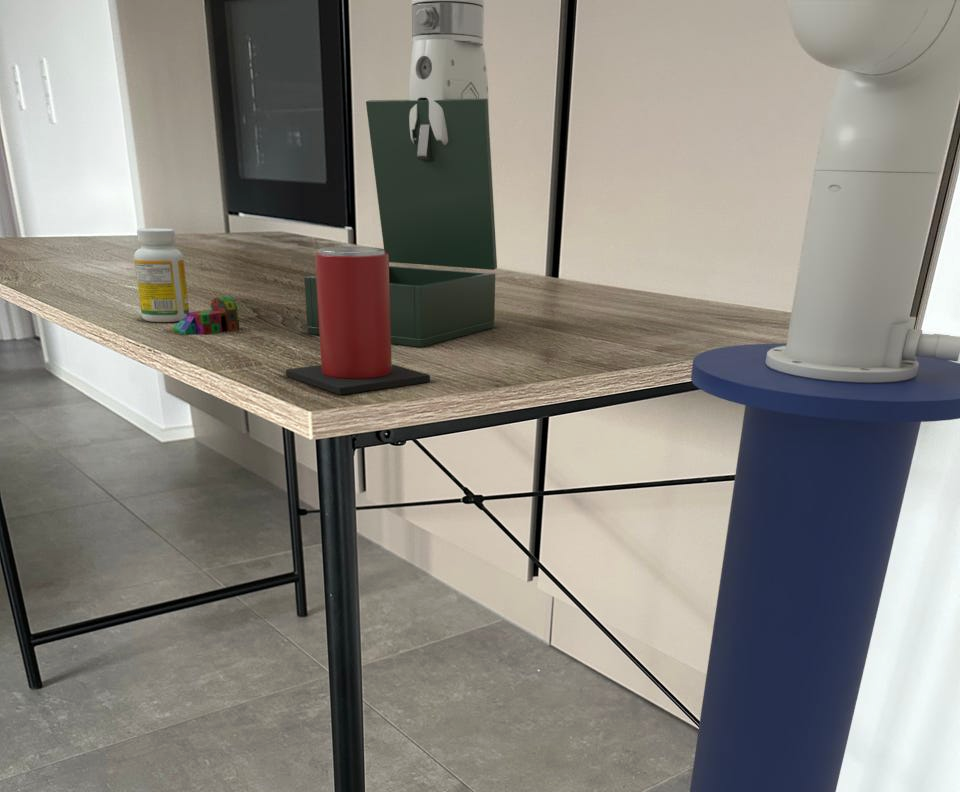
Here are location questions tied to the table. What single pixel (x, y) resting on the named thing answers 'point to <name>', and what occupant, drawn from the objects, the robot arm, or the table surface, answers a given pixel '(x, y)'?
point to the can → (354, 312)
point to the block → (210, 318)
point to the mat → (357, 380)
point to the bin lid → (434, 184)
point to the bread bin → (428, 304)
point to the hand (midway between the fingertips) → (447, 218)
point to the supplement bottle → (160, 276)
